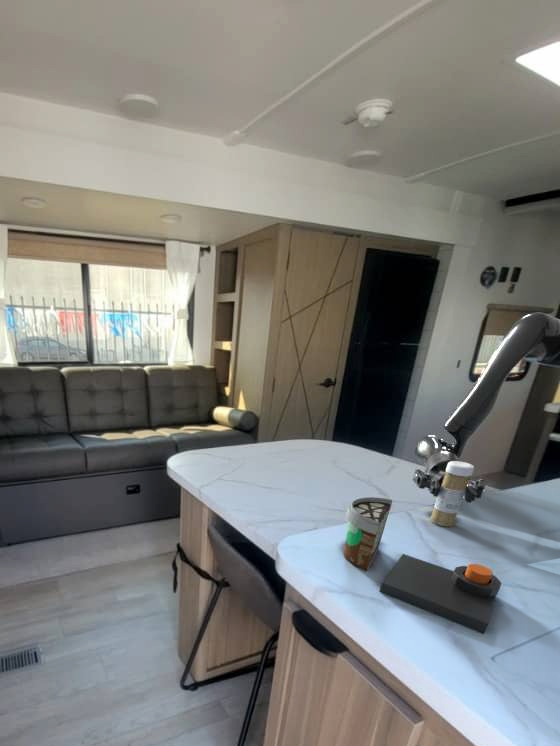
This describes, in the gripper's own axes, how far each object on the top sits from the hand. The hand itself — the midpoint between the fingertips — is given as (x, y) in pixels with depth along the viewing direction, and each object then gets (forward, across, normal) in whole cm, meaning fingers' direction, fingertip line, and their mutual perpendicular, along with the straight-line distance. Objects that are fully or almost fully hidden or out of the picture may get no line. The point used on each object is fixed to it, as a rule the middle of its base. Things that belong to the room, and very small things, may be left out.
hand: (453, 495), depth 83 cm
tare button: (+25, +1, +4) cm, 26 cm away
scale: (+28, -4, +8) cm, 29 cm away
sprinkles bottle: (-3, 0, +8) cm, 8 cm away
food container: (+21, -16, +8) cm, 28 cm away
